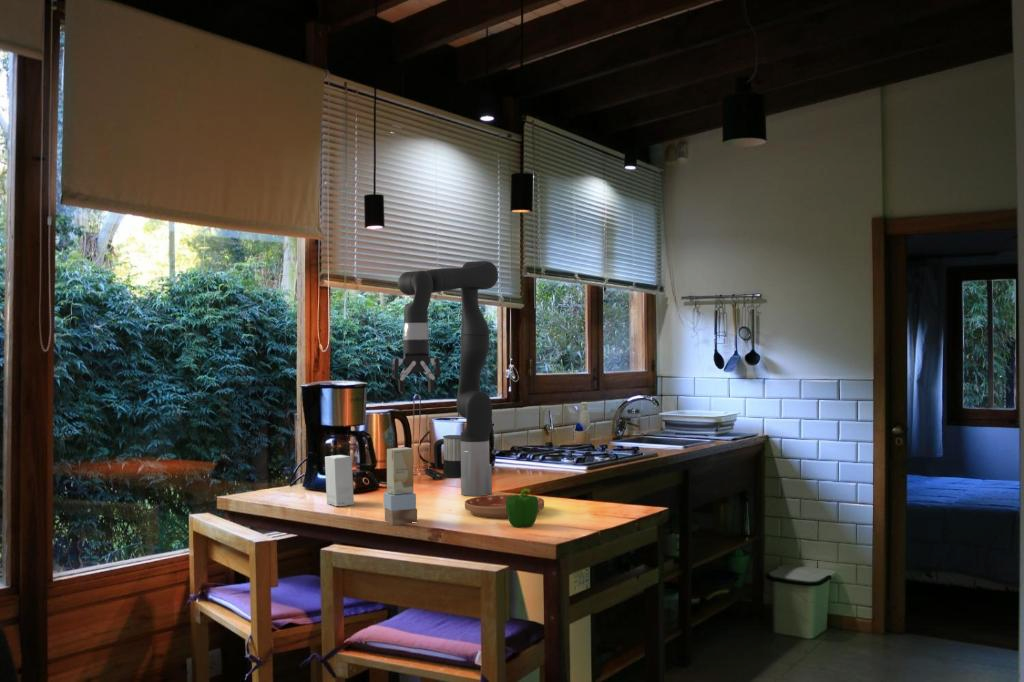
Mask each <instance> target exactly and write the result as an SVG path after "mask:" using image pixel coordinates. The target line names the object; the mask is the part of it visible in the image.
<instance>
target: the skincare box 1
mask: <svg viewBox="0 0 1024 682" xmlns="http://www.w3.org/2000/svg"><path fill="white" fill-rule="evenodd" d="M324 466H325V467H324V468H325V490H326V491H325V493H326V504H327V503H329V504H328V505H330V504H332V505H331V506H333V505H335V506H334V507H336V506H339V507H348V505H350V506H354V505H355V501H354V497H355V496H354V480H353V479H354V478H353V460H352V456H351V455H345V454H335V455H328V456H324Z"/></svg>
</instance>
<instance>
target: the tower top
mask: <svg viewBox="0 0 1024 682" xmlns="http://www.w3.org/2000/svg"><path fill="white" fill-rule="evenodd" d="M416 497H417V494H416V493H414V492H412V493H404V494H397V495H394V494H390V493H387V491H384V492H383V508H384V509H385V508H387V509H389V510H390V511H396V510H408V509H417V498H416Z"/></svg>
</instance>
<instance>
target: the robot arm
mask: <svg viewBox="0 0 1024 682" xmlns="http://www.w3.org/2000/svg"><path fill="white" fill-rule="evenodd" d="M498 279H499V270H498V268H497V266H496V265H495V264H494V263H493V262H491V261H487V260H476V261H473V260H472V261H467V262H465V263H464V264H463V265H462V267H444V268H443V267H442V268H432V269H428V270H413V271H412V270H411V271H406V272H403V273H402V274H401V275H400V276H399V278H398V279H397V287H398V290H399V291H400V292H401V294H404V295H406V296H413V300H412V301H411V302H409V303H407V304H405V305H404V308H403V329H402V334H403V335H402V336H403V337H402V338H403V340H402V342H403V344H402V345H403V346H402V347H403V348H402V349H403V351H402V352H403V357H402V358H397V357H396V358H393V359H392V364H391V365H392V368H391V378H392V379H394V380H397V381H398V392H399V393H400V394H401V395H403V394H404V395H405V393H406V391H405V389H406V388H405V387H406V385H405V379H406V377H407V376H408V375H409V374H410V373H411V374H412V373H413V374H415V373H424V375H425V376H426V377H427V378H428V380H427V381H428V382H427V389H428V391H427V392H428V393H431V394H432V393H433V391H435V380H436V379H438V378H441V376H442V375H441V364H440V361H441V360H440V358H439V357H431V358H430V343H429V342H430V339H429V338H430V334H429V332H430V331H429V324H428V323H429V322H428V321H429V319H428V317H429V315H428V314H429V313H428V309H429V306H430V302H431V298H432V293H438V292H439V293H440V292H446V291H451V290H457V289H460V297H461V328H460V329H461V331H460V360H459V380H458V386H457V387H458V389H457V393H456V394H457V395H456V402H455V403H456V410H457V413H458V415H459V416H460V417H462V418H464V419H465V421H466V422H465V428H464V430H462V431H461V432H460V435H461V478H460V494H461V495H462V496H469V497H481V496H489V495H492V494H493V486H492V485H493V477H492V476H493V473H492V472H493V467H492V464H491V463H490V436H491V435H490V434H491V432H492V424H493V403H492V399H491V397H490V396H489V395H488V394H487V393H486V392H484V391H480V389H481V388H480V385H481V384H480V383H481V382H480V380H481V374H482V370H483V367H484V365H485V362H486V361H487V360H486V359H487V358H488V354H489V349H490V329H489V325H488V323H487V321H486V319H485V317H484V315H483V313H482V310H481V309H480V306H479V292H478V291H479V290H488V289H492V288H493V287H495V285H496V284H497V282H498ZM430 363H431V365H432V366H433V373H432V371H431V369H430V368H429V367H428V366H429V365H430ZM401 364H402V365H403V366H404V368H403V369H402V371H401V373H400V375H399V367H400V366H401Z"/></svg>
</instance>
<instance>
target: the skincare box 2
mask: <svg viewBox="0 0 1024 682" xmlns="http://www.w3.org/2000/svg"><path fill="white" fill-rule="evenodd" d="M386 492H387V493H390V494H394V495H397V494H404V493H414V448H411V447H406V446H404V447H393V448H386Z"/></svg>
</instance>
